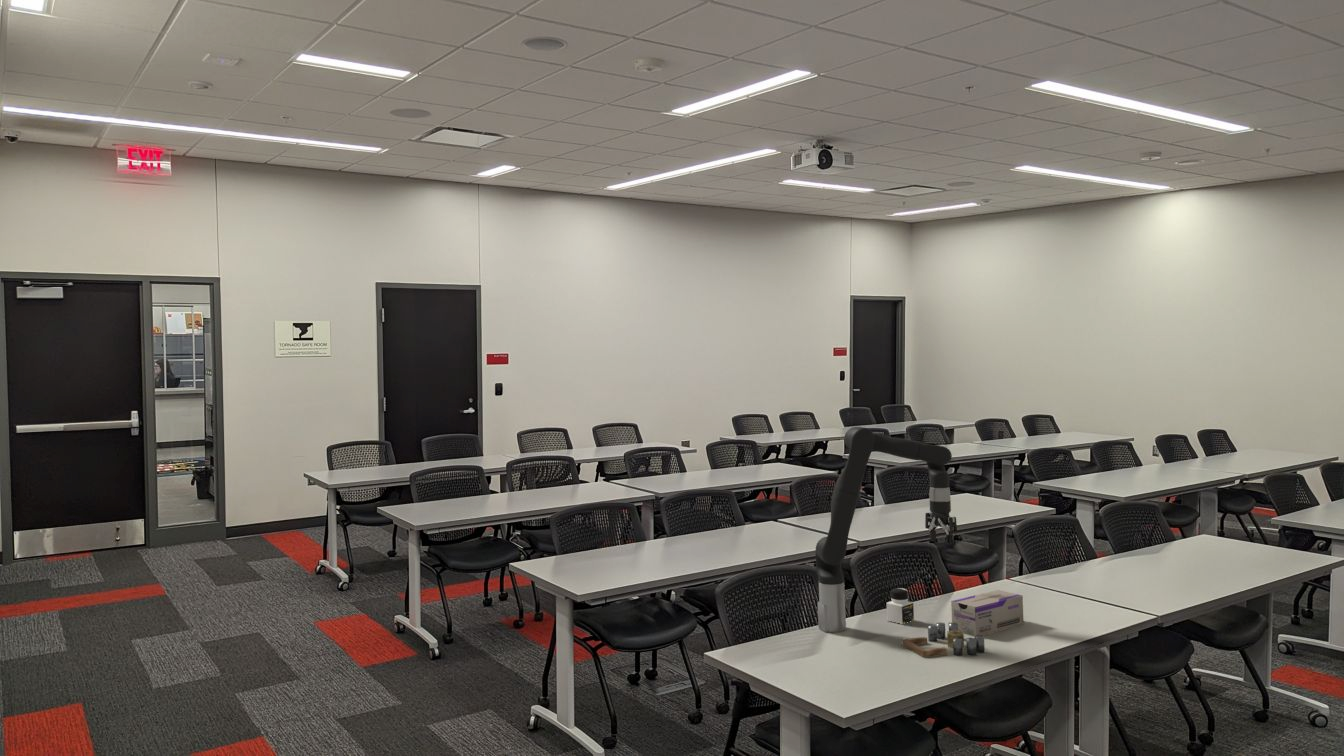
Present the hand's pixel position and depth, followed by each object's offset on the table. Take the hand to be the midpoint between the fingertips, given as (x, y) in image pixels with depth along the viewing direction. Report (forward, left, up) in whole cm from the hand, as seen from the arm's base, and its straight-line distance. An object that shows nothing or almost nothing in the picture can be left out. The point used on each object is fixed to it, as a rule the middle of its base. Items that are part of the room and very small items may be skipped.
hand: (941, 542), depth 329 cm
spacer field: (-13, -29, -29) cm, 43 cm away
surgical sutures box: (+9, -14, -29) cm, 34 cm away
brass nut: (-13, -29, -29) cm, 43 cm away
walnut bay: (-24, -29, -29) cm, 47 cm away
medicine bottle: (-16, +4, -29) cm, 33 cm away
